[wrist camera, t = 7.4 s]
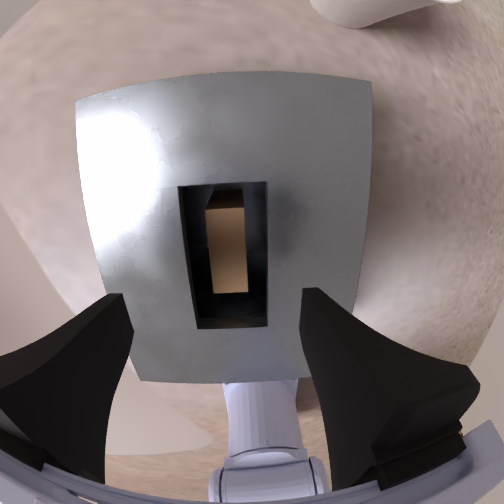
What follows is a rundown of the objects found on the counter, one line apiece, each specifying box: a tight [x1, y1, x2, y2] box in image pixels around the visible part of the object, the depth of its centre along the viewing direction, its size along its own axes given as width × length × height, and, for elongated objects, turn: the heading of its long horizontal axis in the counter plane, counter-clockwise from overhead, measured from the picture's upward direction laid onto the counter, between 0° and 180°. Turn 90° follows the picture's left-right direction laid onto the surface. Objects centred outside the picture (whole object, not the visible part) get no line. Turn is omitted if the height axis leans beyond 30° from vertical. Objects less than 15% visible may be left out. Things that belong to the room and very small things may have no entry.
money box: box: [76, 71, 372, 384], centre depth 17 cm, size 18×14×7 cm
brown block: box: [205, 189, 248, 293], centre depth 17 cm, size 5×2×5 cm, turn 2°
